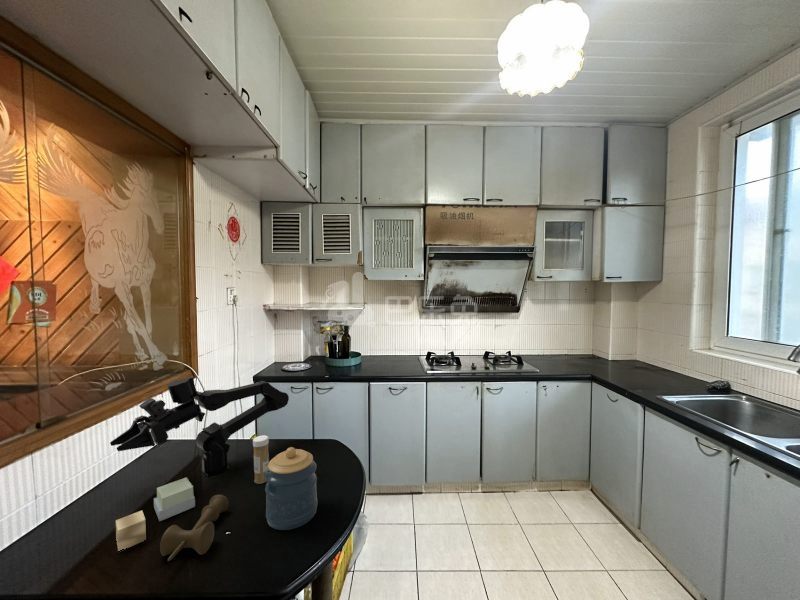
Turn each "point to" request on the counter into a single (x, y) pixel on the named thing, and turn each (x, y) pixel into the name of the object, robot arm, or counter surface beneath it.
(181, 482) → the sage block
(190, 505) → the base block
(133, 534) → the maple cube
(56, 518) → the counter surface
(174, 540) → the kendama
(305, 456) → the canister
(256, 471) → the sprinkles bottle
